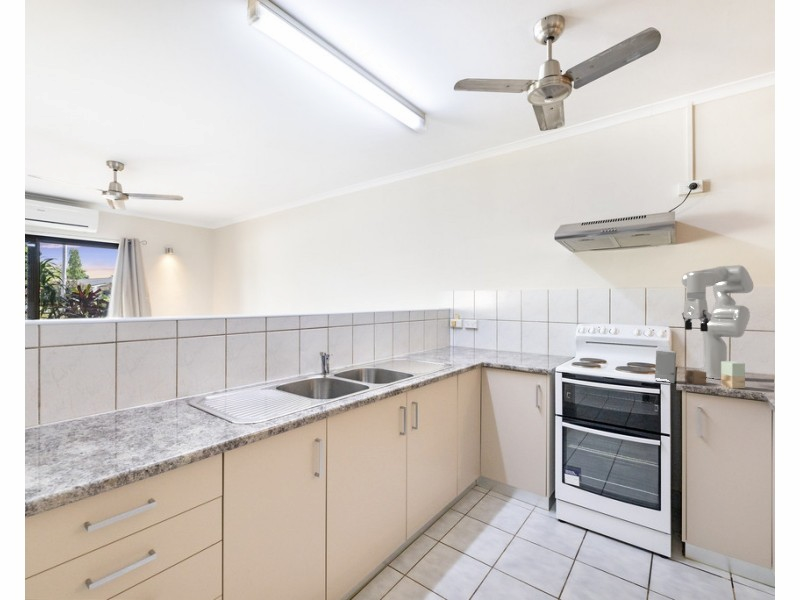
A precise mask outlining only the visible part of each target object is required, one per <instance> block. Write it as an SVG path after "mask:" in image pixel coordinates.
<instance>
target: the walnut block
mask: <svg viewBox="0 0 800 600" xmlns="http://www.w3.org/2000/svg"><path fill="white" fill-rule="evenodd" d="M684 382H685V383H689V384H692V383H693V385H707V378H706V372H703V371H701V370H698V369H685V370H684Z"/></svg>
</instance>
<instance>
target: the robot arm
mask: <svg viewBox="0 0 800 600" xmlns="http://www.w3.org/2000/svg"><path fill="white" fill-rule="evenodd" d="M681 283H682V285H683V287H686V299H685V301H684V307H683V312H681V315H682V319H683V322H684V330H686V331H692V330H693V322H692V320H699V321H700V324H699V325H700V332H702V336H703V338H702V339H703V366H702V367H700V368H699V371H703V372H706V377H707V378H706V379H712V378H714V379H715V380H721V361H728V360H727V359H728V358H727V357H728V356H727V354H728V350H727V349H728V347H727V346H728V345H727V343H726V341H724V339H723V338H742V337H743V336H744V334H745V331H746V329H747V326H748V323H749V321H750V317H751V312H750V309H749V308H748V307H747V306H744V305H738V304H737V305H736V303H737V302H736V301H735V299H734V298H733V297H732V296H730V295H729V294H749V293H751V292H752V291H753V290H754V280H753V279H752V277H751V275H750V273H749V271H748V269H746V268H745V266H743V265H740V264H737V265H720V266H716V267H712V268H708V269H707V268H706V269H701V270H694V271H688V272H686V273H684V274H683V275H682V277H681ZM709 287H712V291H713V295H714V296H713V297H714V298H715V303H714V305H713V306H712V309H711V311H710V312H708V311H709V310H708V302H707V299H706V298H707V294H706V293H707V288H709ZM714 379H713V380H714Z"/></svg>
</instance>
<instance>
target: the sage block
mask: <svg viewBox="0 0 800 600" xmlns="http://www.w3.org/2000/svg"><path fill="white" fill-rule="evenodd" d="M721 374H725V375H729V376H745V377H746V363H744V362H739V361H735V360H734V361H728V360H727V361H721Z"/></svg>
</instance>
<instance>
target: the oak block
mask: <svg viewBox="0 0 800 600" xmlns="http://www.w3.org/2000/svg"><path fill="white" fill-rule="evenodd" d="M720 382H721V383H720V386H721V385H722V386H721V387H723V386H726V387H725V388H727V387H729V388H728V389H731V388H745V389H746V375H745V376H729V375H725V374H721V379H720Z"/></svg>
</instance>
